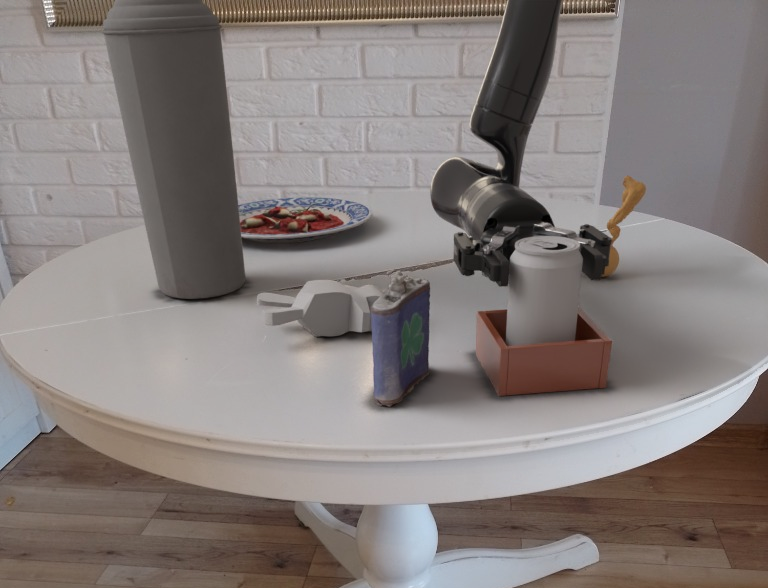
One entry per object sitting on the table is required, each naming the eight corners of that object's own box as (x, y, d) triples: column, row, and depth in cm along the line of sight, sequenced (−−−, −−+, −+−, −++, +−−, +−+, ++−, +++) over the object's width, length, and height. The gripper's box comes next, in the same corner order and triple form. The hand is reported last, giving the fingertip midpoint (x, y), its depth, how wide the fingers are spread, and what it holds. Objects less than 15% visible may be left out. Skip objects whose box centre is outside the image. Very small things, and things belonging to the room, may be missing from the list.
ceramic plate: (312, 259, 111) (310, 237, 109) (174, 241, 122) (170, 220, 120) (402, 218, 129) (401, 199, 127) (274, 205, 140) (272, 187, 139)
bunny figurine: (410, 299, 82) (265, 298, 79) (405, 347, 85) (264, 348, 81) (388, 274, 90) (255, 272, 86) (384, 318, 93) (255, 318, 89)
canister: (132, 292, 101) (62, -44, 82) (210, 267, 109) (163, -43, 90) (195, 311, 94) (135, -51, 75) (274, 283, 102) (237, -50, 83)
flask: (393, 409, 70) (390, 288, 64) (364, 403, 71) (358, 285, 65) (434, 370, 77) (434, 258, 71) (407, 366, 78) (405, 256, 72)
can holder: (572, 347, 81) (576, 304, 78) (606, 387, 72) (612, 340, 70) (475, 354, 80) (476, 311, 77) (498, 396, 72) (500, 349, 69)
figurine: (594, 265, 104) (605, 167, 97) (640, 270, 102) (655, 170, 95) (575, 283, 98) (586, 180, 91) (624, 289, 96) (639, 183, 89)
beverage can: (543, 390, 72) (554, 256, 66) (490, 370, 76) (495, 243, 70) (585, 369, 76) (599, 241, 69) (532, 352, 80) (541, 229, 73)
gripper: (439, 193, 80) (472, 232, 66) (577, 184, 81) (637, 222, 68) (439, 267, 84) (470, 319, 71) (570, 259, 85) (625, 308, 72)
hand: (552, 272), depth 69 cm, fingers open, 8 cm apart
